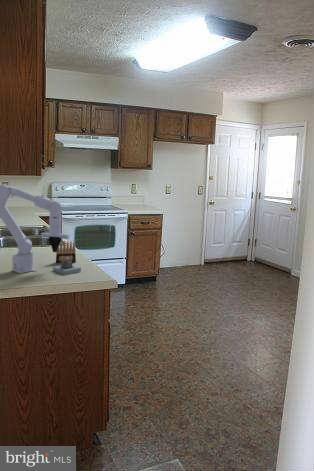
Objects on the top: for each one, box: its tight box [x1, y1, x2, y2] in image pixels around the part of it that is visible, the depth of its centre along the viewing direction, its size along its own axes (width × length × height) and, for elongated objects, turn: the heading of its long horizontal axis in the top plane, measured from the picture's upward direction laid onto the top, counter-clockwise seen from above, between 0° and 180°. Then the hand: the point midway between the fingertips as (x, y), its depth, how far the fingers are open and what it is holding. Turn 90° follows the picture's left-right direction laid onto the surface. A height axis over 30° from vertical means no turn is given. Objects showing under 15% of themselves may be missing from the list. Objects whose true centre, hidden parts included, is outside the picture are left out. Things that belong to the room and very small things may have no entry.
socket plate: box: [52, 264, 82, 276], centre depth 209 cm, size 10×10×2 cm
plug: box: [60, 257, 73, 269], centre depth 208 cm, size 4×4×7 cm
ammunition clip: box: [55, 241, 77, 264], centre depth 227 cm, size 11×2×12 cm, turn 113°
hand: (55, 251), depth 209 cm, fingers closed
